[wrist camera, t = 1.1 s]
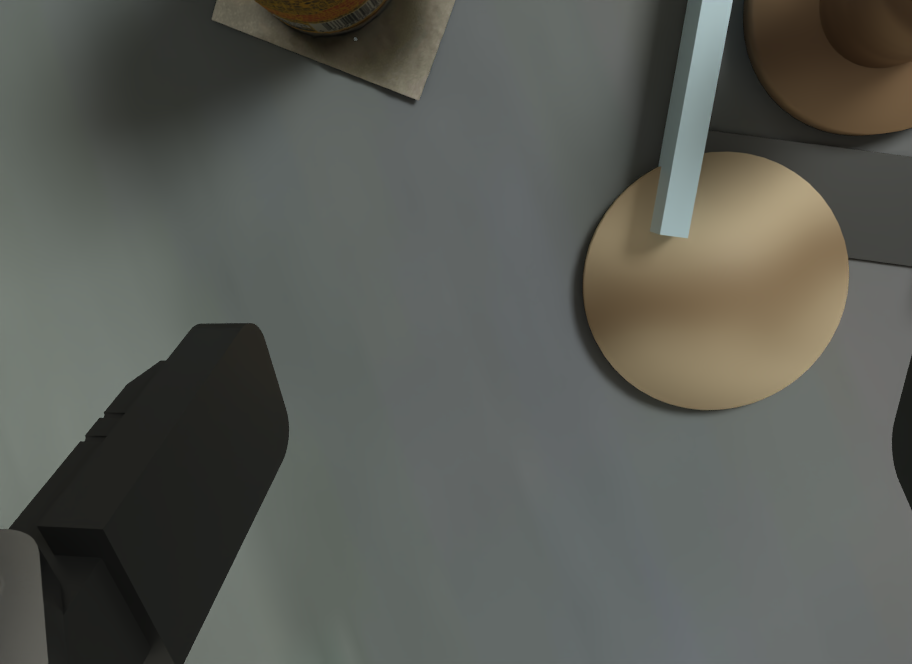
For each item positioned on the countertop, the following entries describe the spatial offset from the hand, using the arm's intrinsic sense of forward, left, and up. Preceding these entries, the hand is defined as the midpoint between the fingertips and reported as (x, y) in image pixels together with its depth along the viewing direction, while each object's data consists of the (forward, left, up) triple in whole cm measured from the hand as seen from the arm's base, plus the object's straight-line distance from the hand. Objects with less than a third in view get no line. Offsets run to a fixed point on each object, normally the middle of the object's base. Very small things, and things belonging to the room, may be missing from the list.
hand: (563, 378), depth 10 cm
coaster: (+5, +6, -21) cm, 22 cm away
